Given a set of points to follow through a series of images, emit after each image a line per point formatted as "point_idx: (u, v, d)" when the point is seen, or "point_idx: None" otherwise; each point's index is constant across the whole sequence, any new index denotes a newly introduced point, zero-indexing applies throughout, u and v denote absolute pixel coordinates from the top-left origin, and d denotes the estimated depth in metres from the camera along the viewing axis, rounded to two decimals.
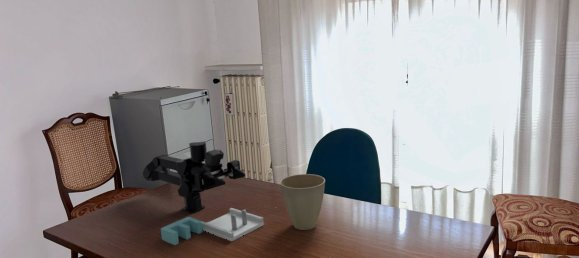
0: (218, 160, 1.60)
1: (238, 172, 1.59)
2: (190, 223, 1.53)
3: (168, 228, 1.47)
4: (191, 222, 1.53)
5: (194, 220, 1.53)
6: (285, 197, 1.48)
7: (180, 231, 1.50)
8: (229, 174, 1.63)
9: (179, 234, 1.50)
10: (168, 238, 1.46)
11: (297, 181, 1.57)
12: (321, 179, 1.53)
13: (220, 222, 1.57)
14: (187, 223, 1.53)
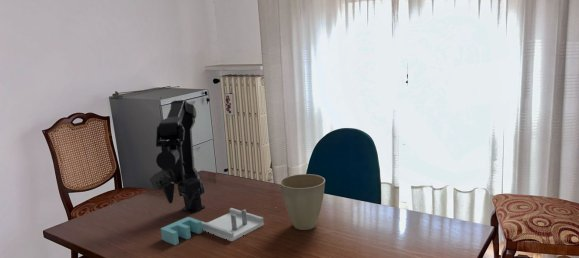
0: None
1: None
2: (190, 223, 1.53)
3: (168, 228, 1.47)
4: (191, 222, 1.53)
5: (194, 220, 1.53)
6: (285, 197, 1.48)
7: (180, 231, 1.50)
8: None
9: (179, 234, 1.50)
10: (168, 238, 1.46)
11: (297, 181, 1.57)
12: (321, 179, 1.53)
13: (220, 222, 1.57)
14: (187, 223, 1.53)
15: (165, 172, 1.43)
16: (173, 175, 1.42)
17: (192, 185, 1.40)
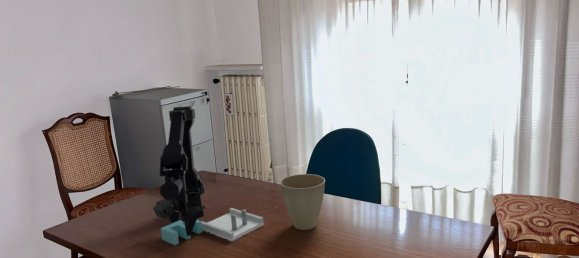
0: None
1: None
2: None
3: (168, 228, 1.47)
4: None
5: None
6: (285, 197, 1.48)
7: (180, 231, 1.50)
8: None
9: (179, 234, 1.50)
10: (168, 238, 1.46)
11: (297, 181, 1.57)
12: (321, 179, 1.53)
13: (220, 222, 1.57)
14: None
15: (168, 200, 1.45)
16: (176, 204, 1.44)
17: (195, 214, 1.42)
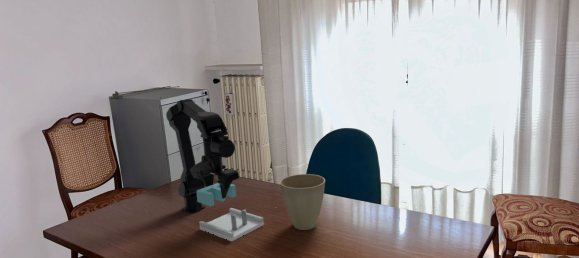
0: None
1: None
2: None
3: (204, 191, 1.52)
4: None
5: None
6: (285, 197, 1.48)
7: (215, 193, 1.54)
8: None
9: (214, 197, 1.54)
10: (204, 200, 1.50)
11: (297, 181, 1.57)
12: (321, 179, 1.53)
13: (220, 222, 1.57)
14: None
15: (204, 162, 1.49)
16: (212, 166, 1.48)
17: (230, 176, 1.46)
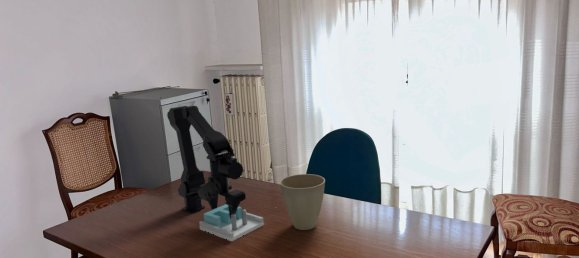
0: None
1: None
2: None
3: (211, 214, 1.54)
4: None
5: None
6: (285, 197, 1.48)
7: (222, 216, 1.56)
8: None
9: (221, 220, 1.57)
10: (211, 223, 1.53)
11: (297, 181, 1.57)
12: (321, 179, 1.53)
13: None
14: (228, 209, 1.60)
15: (211, 184, 1.51)
16: (219, 187, 1.51)
17: (238, 197, 1.49)
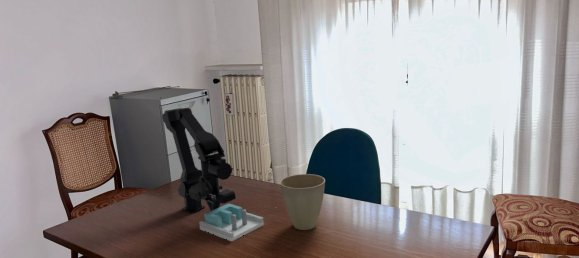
0: None
1: None
2: (231, 209, 1.60)
3: (212, 214, 1.54)
4: (232, 208, 1.59)
5: (235, 206, 1.59)
6: (285, 197, 1.48)
7: (222, 216, 1.56)
8: None
9: (222, 220, 1.57)
10: (212, 223, 1.53)
11: (297, 181, 1.57)
12: (321, 179, 1.53)
13: None
14: (229, 209, 1.60)
15: (202, 184, 1.55)
16: (210, 187, 1.54)
17: (228, 196, 1.52)
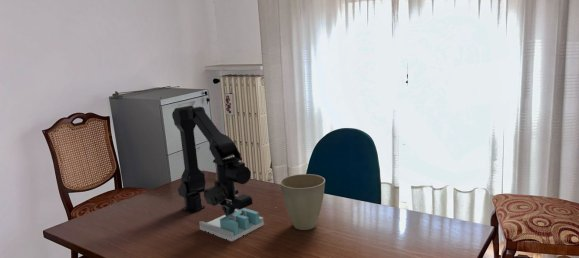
0: None
1: None
2: (247, 214, 1.55)
3: (227, 219, 1.49)
4: (248, 213, 1.55)
5: (251, 211, 1.54)
6: (285, 197, 1.48)
7: (238, 221, 1.51)
8: None
9: (237, 225, 1.52)
10: (228, 228, 1.48)
11: (297, 181, 1.57)
12: (321, 179, 1.53)
13: None
14: None
15: (218, 188, 1.49)
16: (226, 192, 1.49)
17: (244, 202, 1.47)
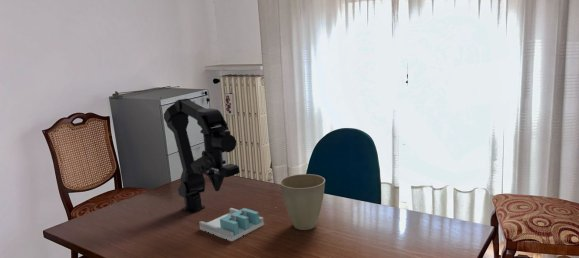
0: None
1: None
2: (247, 214, 1.55)
3: (227, 219, 1.49)
4: (248, 213, 1.55)
5: (251, 211, 1.54)
6: (285, 197, 1.48)
7: (238, 221, 1.51)
8: None
9: (237, 225, 1.52)
10: (228, 228, 1.48)
11: (297, 181, 1.57)
12: (321, 179, 1.53)
13: None
14: None
15: (205, 158, 1.51)
16: (213, 161, 1.50)
17: (231, 170, 1.48)
